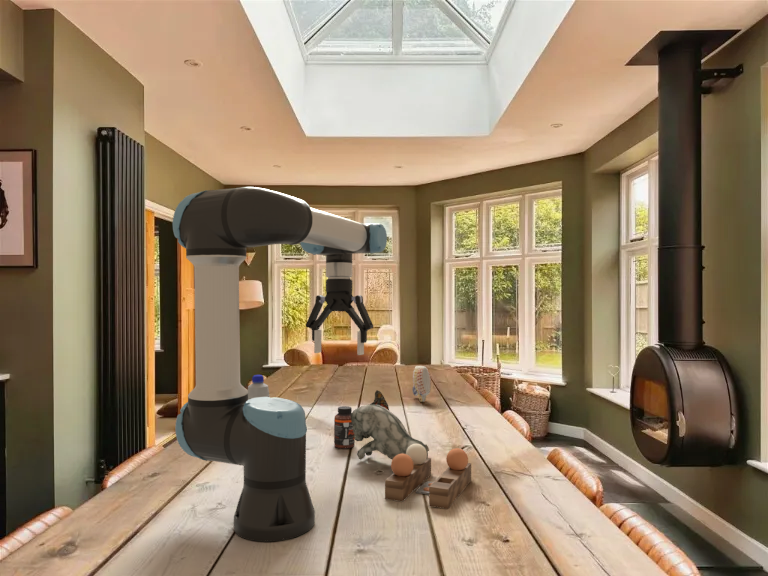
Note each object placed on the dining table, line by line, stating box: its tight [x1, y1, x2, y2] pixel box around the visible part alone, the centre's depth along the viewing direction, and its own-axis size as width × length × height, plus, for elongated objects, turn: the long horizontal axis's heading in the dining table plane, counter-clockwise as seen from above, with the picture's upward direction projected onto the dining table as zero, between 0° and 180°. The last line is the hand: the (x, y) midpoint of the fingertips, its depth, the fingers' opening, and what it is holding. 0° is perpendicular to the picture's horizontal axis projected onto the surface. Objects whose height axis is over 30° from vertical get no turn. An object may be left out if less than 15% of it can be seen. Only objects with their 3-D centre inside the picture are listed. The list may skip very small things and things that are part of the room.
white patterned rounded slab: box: [412, 365, 432, 403], centre depth 224 cm, size 21×6×15 cm, turn 12°
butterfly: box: [370, 390, 390, 411], centre depth 187 cm, size 12×10×10 cm
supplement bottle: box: [333, 405, 356, 450], centre depth 157 cm, size 6×6×11 cm
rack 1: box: [384, 457, 432, 503], centre depth 125 cm, size 19×4×4 cm, turn 156°
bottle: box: [247, 374, 271, 400], centre depth 162 cm, size 7×7×20 cm
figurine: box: [351, 403, 430, 461], centre depth 140 cm, size 10×19×20 cm
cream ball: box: [406, 444, 427, 465], centre depth 129 cm, size 5×5×5 cm
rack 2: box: [428, 462, 472, 510], centre depth 121 cm, size 19×4×4 cm, turn 156°
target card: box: [415, 480, 434, 496], centre depth 123 cm, size 7×4×1 cm, turn 156°
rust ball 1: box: [390, 454, 414, 477], centre depth 121 cm, size 5×5×5 cm
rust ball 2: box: [445, 447, 469, 471], centre depth 125 cm, size 5×5×5 cm
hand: (338, 353), depth 153 cm, fingers open, 13 cm apart
